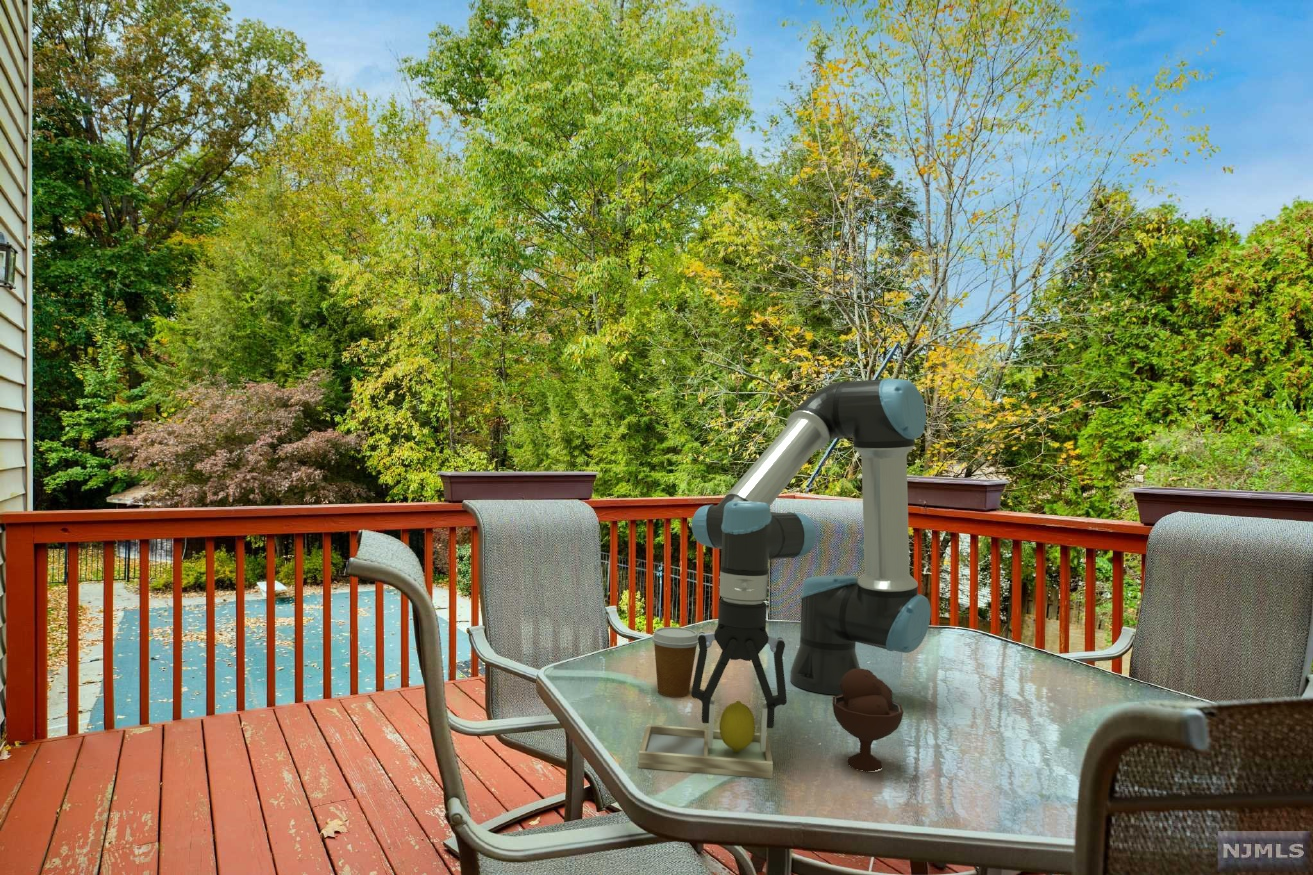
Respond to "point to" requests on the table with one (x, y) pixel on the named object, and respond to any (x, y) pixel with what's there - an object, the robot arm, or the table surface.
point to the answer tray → (702, 753)
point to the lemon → (737, 726)
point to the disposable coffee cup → (674, 659)
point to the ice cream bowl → (866, 714)
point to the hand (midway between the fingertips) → (736, 745)
